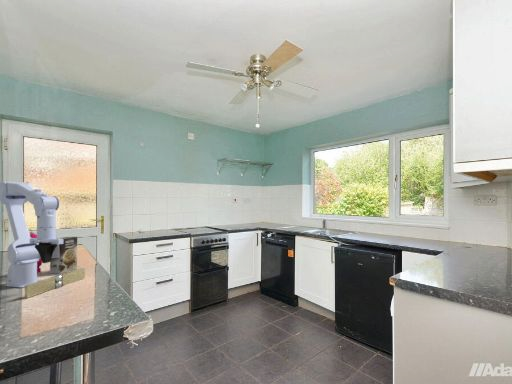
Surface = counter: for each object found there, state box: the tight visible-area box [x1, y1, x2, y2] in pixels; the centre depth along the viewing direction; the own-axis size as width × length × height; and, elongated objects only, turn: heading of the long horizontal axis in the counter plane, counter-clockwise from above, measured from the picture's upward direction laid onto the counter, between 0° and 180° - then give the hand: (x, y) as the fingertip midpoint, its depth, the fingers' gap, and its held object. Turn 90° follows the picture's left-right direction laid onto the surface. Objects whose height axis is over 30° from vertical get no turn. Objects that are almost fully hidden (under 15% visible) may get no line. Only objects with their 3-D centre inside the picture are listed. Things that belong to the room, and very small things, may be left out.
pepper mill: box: [29, 230, 43, 274], centre depth 124 cm, size 7×7×20 cm
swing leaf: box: [24, 274, 62, 299], centre depth 98 cm, size 3×13×4 cm, turn 168°
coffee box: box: [49, 236, 78, 275], centre depth 126 cm, size 9×6×16 cm
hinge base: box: [54, 267, 86, 289], centre depth 108 cm, size 3×13×4 cm, turn 165°
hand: (46, 262), depth 101 cm, fingers closed
